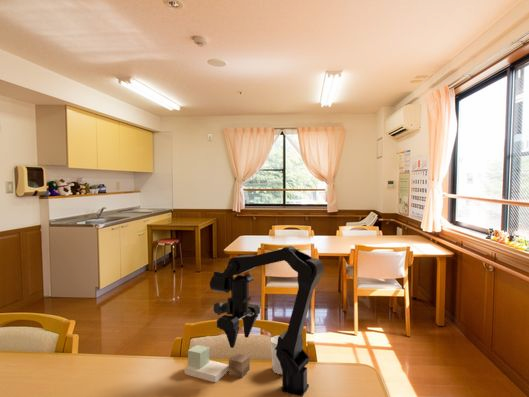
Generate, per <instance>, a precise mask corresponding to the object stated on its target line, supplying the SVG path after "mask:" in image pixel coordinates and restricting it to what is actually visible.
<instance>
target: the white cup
mask: <svg viewBox="0 0 529 397" xmlns="http://www.w3.org/2000/svg"><path fill="white" fill-rule="evenodd" d="M280 335H281V334H280ZM280 335H275V336H272V337H271V339H270V353H271V365H272V366H271V367H272V372H273V371H274V372H273V373H275V374H276V373H277V375H279V374H281V376H282V368H281V365H280V362H279V360H278V358H277V357H276V351H277V350H275V348H276V346H277V342H278V337H279V336H280Z"/></svg>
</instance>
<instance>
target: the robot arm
mask: <svg viewBox="0 0 529 397" xmlns="http://www.w3.org/2000/svg"><path fill="white" fill-rule="evenodd" d="M283 261H285V262H286V263H287V264H288V265H289V267H290V268H291V269H292V270H294V271H295V272H296V273H297V277H296V278H297V279H296V280H297V286H298V289H297V292H296V296H295V299H294V304H293V307H292V312H291V314H290V320H289V322H288V327H287V330H286V331H284V332H283V333H281V334H280V336H279V335H278V336H279V337H278V342H277V346H276V348H275V350H277V351H276V357H277V358H278V360H279V362H280V365H281V368H282V375H281V376H282V377H281V378H282V379H281V380H282V381H281V382H282V384H281V385H282V388H281V391H282V392H283V393H286V394H291V395H293V396H298V397H304V395H305V393H306V391H307V390H308V388H309V387H310V384H309V383H308V367H307V365H308V364H309V361H310V358H311V357H310V356H309V355H308V354H307V352H306V351H305V350H304V349H303V343H304V339H303V330H304V327H305V322H306V318H307V315H308V312H309V308H310V304H311V300H312V297H313V293H314V290H315V289H316V287H317V285H318V284H319V282H320V280H321V278H322V276H323V274H324V273H325V272H324V271H325V265H324V263H323V262H322V261H321V260H320V259H319V258H316V257H313V256H310V255H308V254H306V253H305V252H303V251H302V250H301V251H300V250H299V249H297V248H295V247H294V246H292V245H291V246H290V245H289V246H285V247H283V248H281V249H276V250H272V251H267V252H264V253H258V254H247V255H246V254H243V255H238V256H233V257H230V258H229V261H228V262H227V266H226V268H225V270H224V271H221V270H216V271H215V270H214V271H213V275H211V276H212V277H211V278H210V281H209V287H210V290H211V291H213V292H219V293H220V292H221V293H225V294H228V293H229V292H230V296H229V297H228V298H227V301H223V302H222V301H219V302H216V303H214V304H213V312H214V314H217V316H219V318H218V319H217V320H216V328H218V329H219V330H222V331H223V332H224V333H225V335H226V338H227V340H228V344H229V346H230V348H232V349H234V348H235V345H236V341H237V338H238V335H239V331H240V327H239V325H240V320H242V321H243V333H244V338H249V336H250V333H251V331H252V328H253V327H254V324H255V322H256V321H257V318H258V317H259V315H260V314H261V307H260V306H259V305H258V304H252V303H249V301H251V299H252V298H251V297H252V296H249V283H250V282H251V283H252V282H254V281H255V279H254V277H253V276H252V275H251V274H250V273H247V272H250V271H252V270H254V269H255V268H257V267H262V266H266V265H270V264H274V263H279V262H283ZM245 273H246V274H245ZM242 274H245V275H242ZM225 313H226V314H225ZM222 314H225V315H222ZM221 315H222V316H221Z"/></svg>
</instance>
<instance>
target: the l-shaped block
mask: <svg viewBox="0 0 529 397" xmlns="http://www.w3.org/2000/svg"><path fill="white" fill-rule="evenodd" d="M228 371H229V364H228V363H222V362H218V361H215V360H211V359H210V347H209V346H205V345H200V344H196V345H194V346H193V347H191V348H189V349H188V350H187V366H185V367H184V375H188V376H191V377H194V378H199V379H201V380H204V381H208V382H212V383H215V384H216V383H217V382H218V381H219V380H221V379H222V378H223V377H224V376H225V375H227V374H228V373H229V372H228ZM227 372H228V373H227ZM224 374H225V375H224Z"/></svg>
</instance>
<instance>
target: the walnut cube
mask: <svg viewBox="0 0 529 397" xmlns="http://www.w3.org/2000/svg"><path fill="white" fill-rule="evenodd" d="M250 358H251V356H250V355H246V354H241V353H235V354H234V355H232V356H231V357H230V358H228V365H229V372H228V375H229V374H231V375H230V376H232V375H234V376H233V377H236V376H237V378H239V377H240V379H243V378H244V377H245V376H246V375H248V373H249V372H250V371H249V370H251V369H250V368H251V367H250V366H251V365H250V363H251V361H250V360H251V359H250ZM248 371H249V372H248ZM247 372H248V373H247Z"/></svg>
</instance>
